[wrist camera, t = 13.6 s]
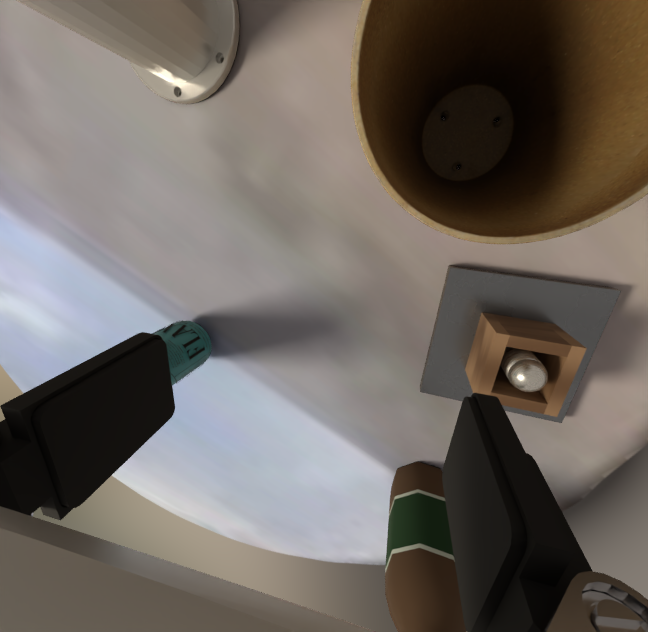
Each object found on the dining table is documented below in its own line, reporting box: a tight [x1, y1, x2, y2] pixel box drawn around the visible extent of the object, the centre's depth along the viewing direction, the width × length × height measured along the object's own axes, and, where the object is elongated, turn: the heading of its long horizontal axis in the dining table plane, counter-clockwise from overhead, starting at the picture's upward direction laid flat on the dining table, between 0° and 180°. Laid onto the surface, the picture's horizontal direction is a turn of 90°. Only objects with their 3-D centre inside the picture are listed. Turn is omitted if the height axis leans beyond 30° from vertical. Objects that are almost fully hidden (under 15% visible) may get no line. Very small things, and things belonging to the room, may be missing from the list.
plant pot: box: [351, 0, 648, 244], centre depth 19 cm, size 15×15×16 cm
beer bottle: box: [385, 462, 466, 632], centre depth 28 cm, size 8×8×24 cm
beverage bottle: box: [153, 321, 211, 385], centre depth 32 cm, size 6×7×20 cm
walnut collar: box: [465, 312, 587, 417], centre depth 28 cm, size 6×6×6 cm
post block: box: [420, 266, 621, 423], centre depth 28 cm, size 14×14×8 cm
